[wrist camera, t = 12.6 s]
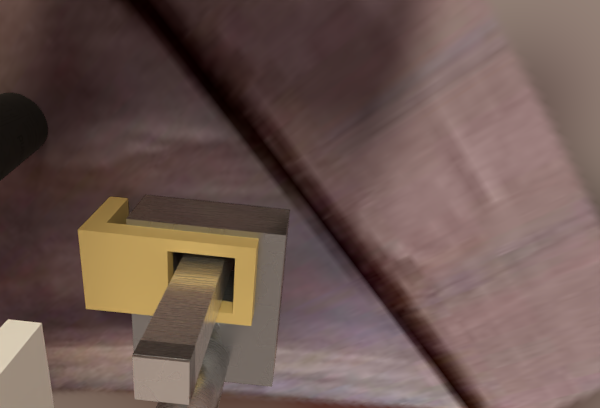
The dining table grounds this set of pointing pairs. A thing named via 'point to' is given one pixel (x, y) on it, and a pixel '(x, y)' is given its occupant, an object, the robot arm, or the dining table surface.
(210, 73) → the dining table surface
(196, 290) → the pin
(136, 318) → the gray post on base
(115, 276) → the bracket
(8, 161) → the drinking cup
